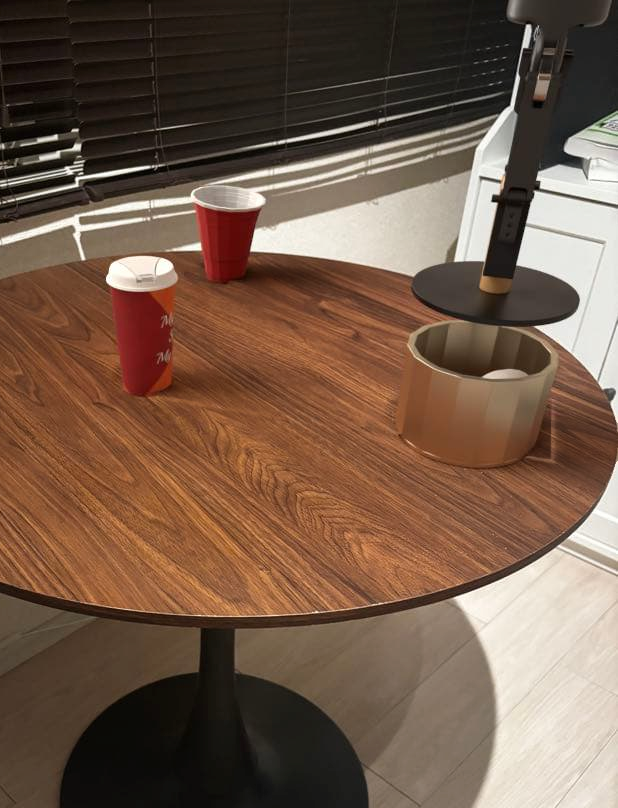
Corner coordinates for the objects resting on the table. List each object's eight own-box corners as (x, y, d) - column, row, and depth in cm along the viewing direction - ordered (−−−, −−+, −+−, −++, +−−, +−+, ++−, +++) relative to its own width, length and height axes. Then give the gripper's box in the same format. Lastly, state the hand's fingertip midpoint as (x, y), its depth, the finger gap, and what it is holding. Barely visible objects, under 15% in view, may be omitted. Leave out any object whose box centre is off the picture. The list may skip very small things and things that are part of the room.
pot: (535, 411, 90) (558, 330, 84) (532, 479, 79) (558, 391, 73) (405, 391, 94) (418, 312, 88) (385, 453, 83) (399, 368, 77)
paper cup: (186, 397, 92) (184, 275, 84) (119, 404, 91) (110, 281, 82) (173, 367, 98) (170, 251, 90) (110, 373, 97) (100, 256, 88)
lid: (575, 282, 81) (609, 163, 75) (578, 343, 70) (619, 209, 63) (420, 265, 85) (439, 149, 78) (399, 320, 74) (419, 190, 67)
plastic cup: (251, 293, 117) (254, 207, 110) (181, 284, 120) (179, 200, 113) (271, 269, 125) (275, 187, 118) (205, 261, 128) (205, 181, 121)
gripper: (519, -44, 68) (464, 240, 83) (512, -35, 56) (449, 294, 71) (615, -42, 66) (541, 248, 81) (628, -32, 54) (539, 305, 69)
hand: (498, 269), depth 76 cm, fingers closed on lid, 3 cm apart
